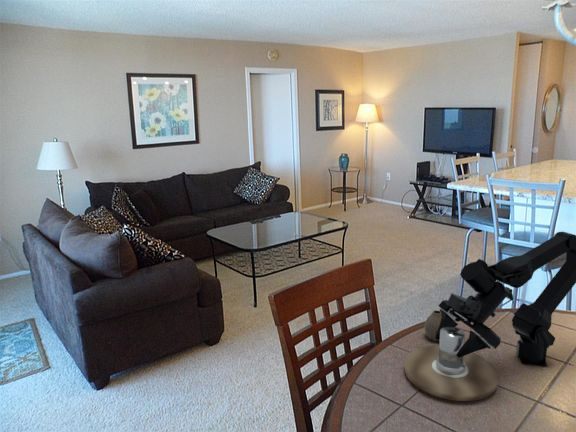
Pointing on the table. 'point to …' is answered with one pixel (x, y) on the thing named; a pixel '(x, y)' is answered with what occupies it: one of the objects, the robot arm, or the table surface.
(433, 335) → the vase
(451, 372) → the cover
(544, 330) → the robot arm
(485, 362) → the turntable
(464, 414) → the table surface
